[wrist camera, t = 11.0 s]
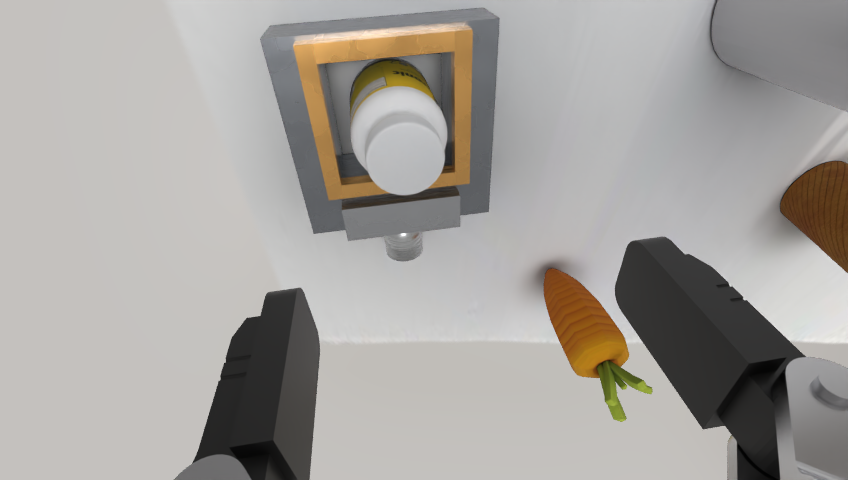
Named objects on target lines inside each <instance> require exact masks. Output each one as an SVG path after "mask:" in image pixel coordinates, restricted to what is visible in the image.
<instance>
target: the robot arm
mask: <svg viewBox="0 0 848 480" xmlns="http://www.w3.org/2000/svg"><path fill="white" fill-rule="evenodd" d="M712 42H713V46H714V50H715V51H716V53H717V55H718V57H719V58H720V59H721V60H722V61H723V62H724V63H726V64H727V65H729V66H731V67H734V68H737V69H739V70H742V71H744V72H747V73H749V74H752V75H755V76H757V77H758V78H760V79H763V80H766V81H768V82H771V83H773V84H776V85H779V86H781V87H784V88H787V89H789V90H792V91H794V92H797V93H800V94H802V95H805V96H807V97H810V98H813V99H815V100H818V101H820V102H823V103H826V104H828V105H831V106H833V107H836V108H839V109H841V110H844V111H846V112H848V0H718V1H717V4H716V7H715V11H714V15H713V20H712ZM615 296H616V300H617V303H618V306H619V308H620V309H621V311H622V313H623V314H624V315H625V317H626V318H627V320H628V321H629V323H630V324H631V326H632V327H633V328H634V330H635V331H636V333H637V334H638V336H639V337H640V339H641V340H642V342H643V343H644V344H645V346H646V347H647V349H648V350H649V352H650V353H651V355H652V356H653V357H654V359H655V360H656V362H657V363H658V365H659V366H660V368H661V369H662V370H663V372H664V373H665V375H666V376H667V378H668V379H669V381H670V382H671V383H672V385H673V386H674V388H675V389H676V391H677V392H678V394H679V395H680V397H681V398H682V400H683V401H684V402H685V404H686V405H687V407H688V408H689V409H690V411H691V413H692V414H693V415H694V417H695V418H696V420H697V421H698V423H699V424H700V426H701V427H702V429H707V428H713V427H719V426H726V428H727V429H728V430H729V432H730V433H731V434H732V435H731V436H730V438H729V440H728V446H727V451H728V452H727V480H848V368H846V367H844V366H842V365H840V364H837V363H835V362H832V361H828V360H825V359H821V358H815V357H806V356H805V355H803V354H802V353H801V352H800V351H799V350H798V349H797V348H796V347H795V346H794V345H793V344H792V343H791V342H790V341H789V340H787V339H786V338H785V337H784V336H783V335H782V334H781V333H780V332H779V331H778V330H777V329H776V328H775V327H774V326H773V325H772V324H771V323H770V322H769V321H768V320H767V319H766V318H765V317H764V316H762V315H761V314H760V313H759V312H758V311H757V310H756V309H755V308H754V307H753V306H752V305H751V304H750V303H749V302H748V301H747V300H746V301H744V300H743V296H742V295H741V294H740V293H738V292H737V291H736V290H735V289H734V288H733V287H730V286H729V283H728V282H727V281H726V280H725V279H724V278H723V277H722V276H721V275H720V274H719V273H718V272H717V271H716V270H715V269H713V268H712V267H711V266H709V265H707V264H706V263H704V262H702V261H700V260H699V259H697V258H695V257H693V256H692V255H690V254H687V255H685V254H684V253H683V252H682V251H681V250H680V249H679V248H678V247H677V246H676V245H675V244H674V243H673V242H672V241H671V240H669V239H668V238H666V237H657V238H650V239H643V240H636V241H632V242H630V243H629V244H628V246H627V248H626V252H625V255H624V258H623V262H622V265H621V268H620V271H619V275H618V278H617V281H616V285H615ZM319 357H320V344H319V336H318V331H317V328H316V325H315V322H314V319H313V317H312V314H311V311H310V308H309V305H308V303H307V300H306V297H305V294H304V292H303V290H302V289H301V288H295V289H288V290H281V291H274V292H268V293H267V294H266V296H265V300H264V304H263V308H262V312H261V316H258V317H251V318H246V320H245V321H244V322H243V324H242V325H241V326H240V328H239V329H238V330H237V332H236V333H235V334H234V336H233V337H232V339H231V342H230V346H229V349H228V352H227V356H226V363H224V366H223V369H222V373H221V380H220V381H219V382H218V386H217V389H216V392H215V396H214V399H213V403H212V406H211V409H210V412H209V416H208V419H207V423H206V426H205V429H204V433H203V436H202V440H201V443H200V446H199V449H198V452H197V455H196V457H195V459H194V461H193V463H192V464H191V465H190V466H188V467H187V468H186V469H185V470H183V471H182V472H181V473H180V474H179V475H178V476H177V477H176V478H175V479H174V480H309V478H310V466H311V454H312V441H313V429H314V417H315V405H316V394H317V381H318V368H319Z"/></svg>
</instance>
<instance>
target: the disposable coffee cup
mask: <svg viewBox="0 0 848 480" xmlns="http://www.w3.org/2000/svg"><path fill="white" fill-rule="evenodd" d="M780 209H781V212H782V214H783V215H784V216H785V217H787V218H788V219H789V220H790V221H791V222H792V223H793V224H794V225H795V226H796V227H798V228H799V229H800V230H801V231H802V232H803V233H804V234H805V235H806V236H807V237H809V238H810V239H811V240H812V241H813V242H814V243H815V244H816V245H818V246H819V247H820V248H821V249H822V250H823V251H824V252H825V253H826V254H827V255H828V256H829V257H831V258H832V259H833V260H834V261H835V262H836V263H837V264H838V265H839V266H840V267H842V268H843V269H844V270H845V271H846V272H847V273H848V164H847V163H845V162H842V161H832V162H827V163H824V164H821V165H819V166H817V167H814V168H813V169H811V170H809V171H808V172H806V173H805V174H803V175H802V176H801V177H800V178H798V179H797V180H796V181H795V182H794V183H793V184H792V185H791V186H790V187H789V189H788V190H787V192H786V193H785V195H784V197H783V199H782V201H781V206H780Z"/></svg>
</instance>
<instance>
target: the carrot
mask: <svg viewBox="0 0 848 480" xmlns="http://www.w3.org/2000/svg"><path fill="white" fill-rule="evenodd" d="M544 297H545V302H546V306H547V310H548V313H549V317H550V320H551V323H552V325H553V327H554V330H555V332H556V334H557V337H558V339H559V341H560V343H561V345H562V348H563V350H564V352H565V354H566V356H567V358H568V360H569V362H570V365H571V367H572V369H573V370H574V371H575V373H576V374H577V375H579V376H582V377H591V378H600V380H601V384H602V388H603V391H604V395H605V402H606V403H607V404H608V407H609V409H610V412H611V414H612V416H613V419H615V420H617V421H620V422H622V421H624V420H626V416H625V413H624V411H623V408H622V406H621V404H620V402H619V399H618V397H617V392H616V383H617V384H618V385H619V386H620V387H621V389H626V388H627V385H626V384H625V383H624V382H623V381H625V382H626V383H627V384H628V385H629V386H631V387H632V388H635V389H636V390H639V391H641V392H644V393H648V394H651V393H652V387H649V386H647V385H646V383H645V382H644V380H642V379H640V378H637V377H635V376H633V375H632V374H630V373H629V372H627V371H625V370H624V369H622V368H621V366H622V365H623V364H624V363H625V362H626V361H627V360H628V357H629V352H628V348H627V345H626V341H625V338H624V336H623V334H622V333H621V331H620V330H619V329H618V327H617V326H616V324H615V323H614V321H613V320H612V319H611V317H610V316H609V314H608V313H607V312H606V311H605V309H604V308H603V307H602V305H601V304H600V303H599V301H598V300H597V299H596V298H595V297H594V296H593V295H592V294H591V293H590V292H589V291H588V290H587V289H586V288H585V287H584V286H583V285H582V284H581V283H579V282H578V281H577V280H576V279H574V278H573V277H571V276H569V275H568V274H566V273H564V272H561V271H559V270H557V269H552V268H551V269H548V270H547V272H546V273H545V279H544ZM615 382H616V383H615Z"/></svg>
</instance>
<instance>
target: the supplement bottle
mask: <svg viewBox="0 0 848 480" xmlns="http://www.w3.org/2000/svg"><path fill="white" fill-rule="evenodd" d="M350 127H351V143H352V148H353V151H354V153H355V156H356V157H357V159H358V161H359V162H360V164H361V165H362V166H363V167H364V168H365V169H366V170H367V171H368V173H369V175H370V177H371V179H372V180H373V181H374V183H375V184H376V185H377V186H379V187H380V188H381V189H383V190H385V191H387V192H389V193H392V194H396V195H412V194H416V193H419V192H421V191H423V190H425V189H427V188H428V187H430V186H431V185H432V184H433V183H434V182H435V181H436V180H437V179H438V177H439V176H440V174H441V172H442V169H443V166H444V161H445V152H444V150H445V147H446V143H447V126H446V121H445V118H444V116H443V113H442V111H441V109H440V107H439V105H438V103H437V102H436V100H435V98H434V96H433V94H432V92H431V90H430V88H429V86H428V84H427V82H426V80H425V78H424V77H423V75H422V74H421V73H420V72H419V70H418V69H417V68H415V67H414V66H413V65H411V64H410V63H408V62H406V61H404V60H401V59H396V58H383V59H379V60H376V61H374V62H372V63H370V64H368V65H367V66H365V67H364V68H363V69H362V70H361V71H360V73H359V74H358V75H357V77H356V78H355V80H354V82H353V85H352V88H351V94H350Z"/></svg>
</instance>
